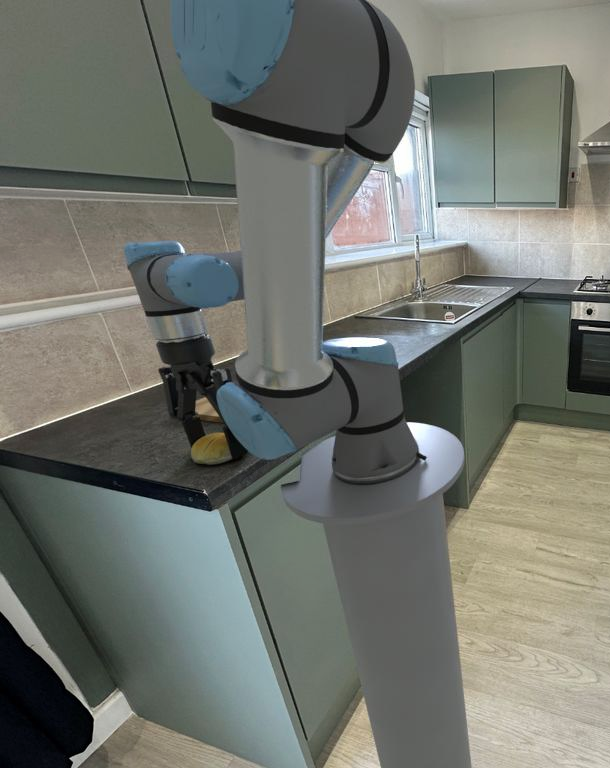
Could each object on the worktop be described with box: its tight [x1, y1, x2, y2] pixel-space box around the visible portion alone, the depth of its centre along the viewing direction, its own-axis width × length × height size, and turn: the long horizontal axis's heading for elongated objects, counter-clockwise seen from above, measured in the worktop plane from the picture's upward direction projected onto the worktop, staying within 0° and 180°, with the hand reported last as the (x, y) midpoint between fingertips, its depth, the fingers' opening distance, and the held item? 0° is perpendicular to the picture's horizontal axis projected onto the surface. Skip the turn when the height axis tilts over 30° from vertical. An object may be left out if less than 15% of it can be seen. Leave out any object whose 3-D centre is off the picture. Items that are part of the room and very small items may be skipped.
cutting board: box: [193, 396, 224, 424], centre depth 99 cm, size 20×14×2 cm
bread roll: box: [190, 432, 233, 465], centre depth 78 cm, size 8×9×4 cm
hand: (220, 452), depth 79 cm, fingers closed on bread roll, 9 cm apart
